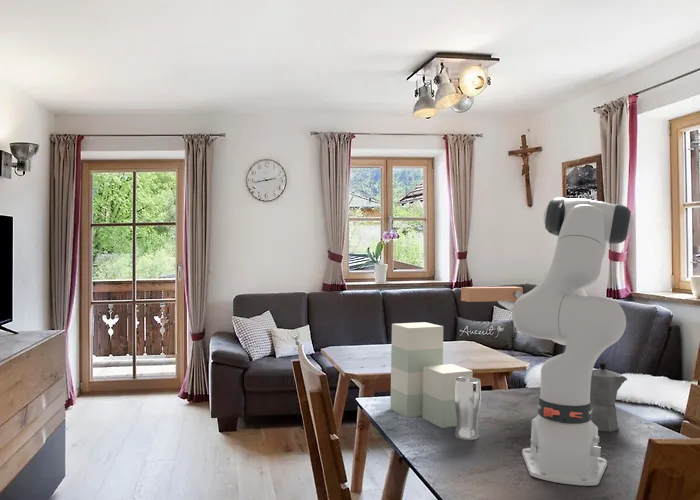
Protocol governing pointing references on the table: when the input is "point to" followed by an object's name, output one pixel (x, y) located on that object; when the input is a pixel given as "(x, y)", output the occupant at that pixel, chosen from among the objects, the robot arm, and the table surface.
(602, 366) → the coffeepot
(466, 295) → the long brick
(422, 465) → the table surface
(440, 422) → the short tower
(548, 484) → the table surface
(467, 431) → the beer glass
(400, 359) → the tall tower
